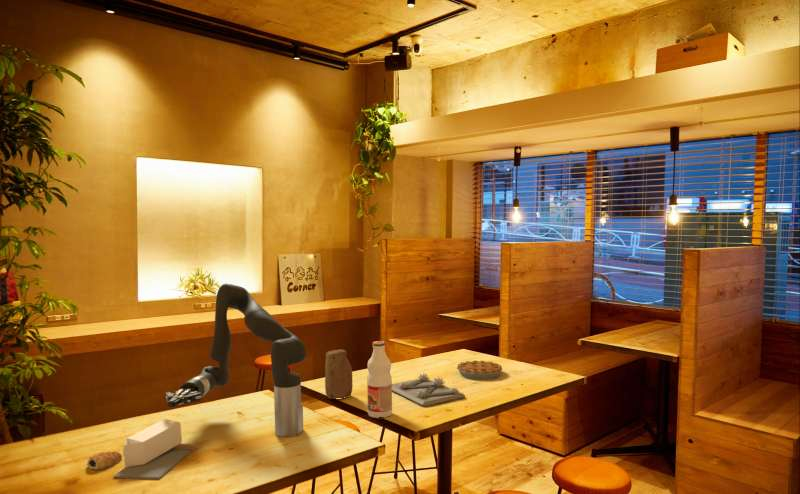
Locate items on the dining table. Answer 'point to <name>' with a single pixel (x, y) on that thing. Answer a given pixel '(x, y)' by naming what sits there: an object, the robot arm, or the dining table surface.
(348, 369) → the block
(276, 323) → the robot arm
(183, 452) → the grey flat board
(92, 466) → the pastry
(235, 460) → the dining table surface
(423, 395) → the decorative plate
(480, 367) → the pie
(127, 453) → the milk carton
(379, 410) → the fruit juice
